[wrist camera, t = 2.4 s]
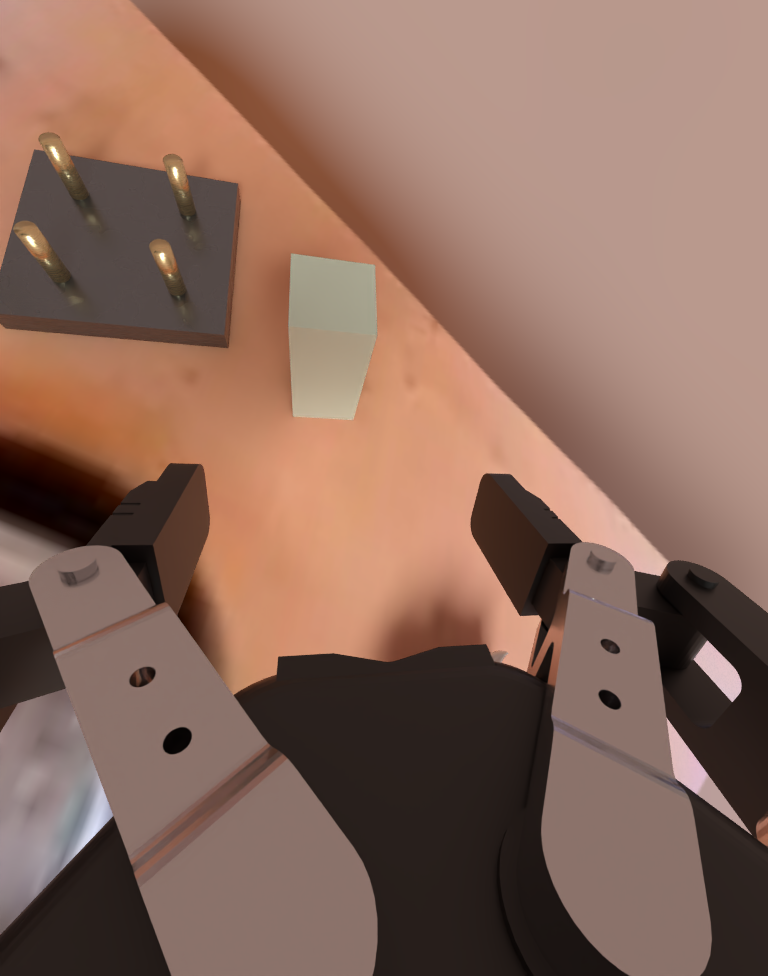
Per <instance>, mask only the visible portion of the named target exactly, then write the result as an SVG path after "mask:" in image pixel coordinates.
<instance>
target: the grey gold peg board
mask: <svg viewBox="0 0 768 976" xmlns="http://www.w3.org/2000/svg"><path fill="white" fill-rule="evenodd" d="M39 142H40V144H41V145H42V147H43V149H44V151H40V150H34V152H33V156H32V159H31V163H30V166H29V170H28V174H27V177H26V181H25V184H24V188H23V191H22V195H21V199H20V202H19V206H18V209H17V213H16V216H15V220H14V224H13V227H12V231H11V234H10V238H9V241H8V245H7V248H6V252H5V256H4V259H3V263H2V266H1V270H0V324H1V325H3V326H4V327H5V328H9V329H20V330H31V331H43V332H54V333H65V334H77V335H88V336H99V337H110V338H122V339H133V340H144V341H156V342H167V343H178V344H190V345H201V346H212V347H224V348H228V344H229V332H230V320H231V309H232V297H233V285H234V274H235V262H236V250H237V238H238V227H239V215H240V203H241V201H240V194H239V188H238V184H237V183H231V182H225V181H219V180H213V179H207V178H201V177H195V176H189V175H186V172H185V168H184V165H183V161H182V159H181V158H180V157H179V156H178V155H175V154H168V155H166V156H165V157H164V158H163V162H164V165H165V168H166V171H167V172H165V171H159V170H153V169H147V168H141V167H135V166H129V165H123V164H118V163H112V162H106V161H100V160H94V159H88V158H82V157H76V156H70V155H69V154H68V152H67V150H66V149H65V147H64V145H63V143H62V141H61V139H60V137H59V136H58V135H56V134H54V133H49V132H47V133H43V134H41V135H40V136H39Z"/></svg>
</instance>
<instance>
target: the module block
mask: <svg viewBox="0 0 768 976" xmlns="http://www.w3.org/2000/svg"><path fill="white" fill-rule="evenodd" d="M288 332H289V351H290V371H291V390H292V410H293V417H310V418H327V419H344V420H353V419H354V415H355V412H356V408H357V405H358V401H359V398H360V394H361V391H362V387H363V384H364V380H365V377H366V373H367V370H368V366H369V363H370V359H371V356H372V352H373V349H374V345H375V342H376V338H377V310H376V278H375V265H372V264H365V263H357V262H350V261H343V260H336V259H328V258H321V257H314V256H307V255H299V254H292V253H291V268H290V294H289V319H288Z"/></svg>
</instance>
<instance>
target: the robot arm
mask: <svg viewBox="0 0 768 976" xmlns="http://www.w3.org/2000/svg"><path fill="white" fill-rule="evenodd" d="M209 525H210V515H209V506H208V498H207V489H206V481H205V473H204V469H203V466H202V465H201V464H176V463H170V464H169V465H168V466H167V468H166V469H165V471H164V472H163V473H162V475H161V476H160V478H159V479H158V480H157V481H147V482H145V483H143V484H141V485H140V486H138V487H136V488H135V489H133V490H131V491H130V492H129V493H128V494H127V496H126V497H125V498H124V499H123V501H122V502H121V505H119V506H118V507H117V508H116V509H115V511H114V512H113V515H111V516H110V517H109V518H108V519H107V521H106V522H105V523H104V524H103V526H102V527H101V528H100V529H99V530H98V532H97V533H96V534H95V535H94V537H93V538H92V539H91V540H90V542H89V543H88V544H87V545H86V546H84V547H79V548H74V549H71V550H67V551H65V552H62V553H59V554H57V555H55V556H53V557H51V558H49V559H47V560H46V561H44V562H43V563H41V564H40V565H39V566H38V567H37V568H36V569H35V570H34V571H33V572H32V574H31V576H30V578H29V581H26V582H22V583H17V584H12V585H7V586H2V587H0V732H1V730H2V729H3V727H4V725H5V724H6V722H7V720H8V719H9V717H10V715H11V714H12V712H13V710H14V709H15V707H16V705H17V704H18V703H20V702H23V701H27V700H30V699H33V698H36V697H40V696H43V695H46V694H49V693H52V692H56V691H59V690H62V689H65V688H66V689H67V692H68V695H69V697H70V700H71V703H72V706H73V708H74V711H75V714H76V716H77V719H78V722H79V724H80V727H81V730H82V732H83V735H84V738H85V740H86V743H87V746H88V748H89V751H90V754H91V757H92V759H93V762H94V765H95V767H96V770H97V773H98V775H99V778H100V781H101V783H102V786H103V789H104V791H105V794H106V797H107V799H108V802H109V805H110V808H111V810H112V813H113V817H112V818H111V819H110V820H109V821H108V822H107V823H106V824H105V825H104V826H103V828H102V829H101V830H100V831H99V832H98V833H97V834H96V835H95V836H94V837H93V838H92V839H91V840H90V841H89V842H88V843H87V844H86V845H85V846H84V848H83V849H82V850H81V851H80V852H79V853H78V854H77V855H76V856H75V857H74V858H73V859H72V860H71V861H70V862H69V863H68V864H67V865H66V866H65V868H64V869H63V870H62V871H61V872H60V873H59V874H58V875H57V876H56V877H55V878H54V879H53V880H52V881H51V882H50V883H49V884H48V885H47V886H46V888H45V889H44V890H43V891H42V892H41V893H40V894H39V895H38V896H37V897H36V898H35V899H34V900H33V901H32V902H31V903H30V904H29V905H28V906H27V907H26V909H25V910H24V911H23V912H22V913H21V914H20V915H19V916H18V917H17V918H16V919H15V920H14V921H13V922H12V923H11V924H10V925H9V926H8V927H7V929H6V930H5V931H4V932H3V933H2V934H1V935H0V976H768V613H767V612H766V611H764V610H763V609H762V608H761V607H760V606H758V605H757V604H756V603H754V602H753V601H752V600H751V599H749V597H747V596H746V595H745V594H744V593H742V592H741V591H740V590H739V589H737V588H736V587H735V586H733V585H732V584H731V583H730V582H728V581H727V580H726V579H725V578H723V577H722V576H720V575H719V574H717V573H715V572H713V571H712V570H710V569H707V568H705V567H703V566H700V565H698V564H695V563H691V562H686V561H679V560H678V561H671V562H669V563H668V564H667V566H666V568H665V569H664V571H663V573H662V574H661V576H656V575H651V574H646V573H641V572H637V571H634V568H633V566H632V565H631V563H630V562H629V561H628V560H627V559H626V558H624V557H623V556H622V555H620V554H619V553H617V552H616V551H614V550H612V549H610V548H607V547H605V546H602V545H599V544H595V543H588V542H582V541H581V540H580V539H579V538H578V537H577V536H576V535H575V534H574V533H573V532H572V531H571V530H570V529H569V528H568V527H567V526H566V525H565V524H564V523H563V522H562V521H561V520H560V519H558V516H557V515H556V514H555V513H554V512H553V511H550V508H549V507H548V506H547V505H546V504H545V503H544V502H543V501H542V500H541V499H540V498H538V497H536V496H535V495H533V494H531V493H530V492H528V491H526V490H525V489H524V488H523V487H522V486H521V485H520V484H519V483H518V481H517V480H516V479H515V478H514V477H513V476H512V475H510V474H488V473H487V474H484V475H483V477H482V479H481V481H480V485H479V489H478V493H477V496H476V500H475V504H474V508H473V512H472V516H471V532H472V535H473V537H474V539H475V541H476V542H477V544H478V546H479V547H480V549H481V551H482V552H483V554H484V556H485V558H486V559H487V561H488V563H489V564H490V566H491V568H492V569H493V571H494V573H495V574H496V576H497V578H498V580H499V581H500V583H501V585H502V586H503V588H504V590H505V591H506V593H507V595H508V596H509V598H510V600H511V602H512V603H513V605H514V607H515V608H516V610H517V612H518V613H519V615H520V616H530V615H539V616H540V618H541V621H540V623H539V625H538V628H537V631H536V635H535V639H534V644H533V648H532V652H531V656H530V661H529V665H528V669H527V672H525V671H523V670H521V669H518V668H516V667H513V666H511V665H507V664H503V663H500V662H495V661H494V660H493V658H492V656H491V654H490V652H489V649H488V647H487V645H486V644H483V645H467V646H450V647H438V648H435V649H432V650H429V651H425V652H422V653H419V654H416V655H413V656H410V657H407V658H404V659H400V660H397V661H394V662H382V661H376V660H370V659H364V658H358V657H352V656H346V655H340V654H334V653H333V654H316V655H299V656H282V657H278V667H277V675H274V676H271V677H268V678H265V679H263V680H261V681H258V682H256V683H254V684H252V685H250V686H248V687H246V688H244V689H243V690H241V691H239V692H238V693H236V694H235V695H233V694H232V693H231V691H230V690H229V689H228V687H227V686H226V684H225V683H224V682H223V680H222V679H221V677H220V676H219V675H218V673H217V672H216V670H215V669H214V668H213V666H212V665H211V663H210V662H209V661H208V659H207V658H206V656H205V655H204V653H203V652H202V651H201V649H200V648H199V646H198V645H197V644H196V642H195V641H194V639H193V638H192V637H191V635H190V634H189V632H188V631H187V630H186V628H185V627H184V625H183V624H182V623H181V621H180V620H179V618H178V617H177V614H178V612H179V609H180V606H181V604H182V601H183V599H184V596H185V593H186V591H187V588H188V586H189V583H190V581H191V578H192V575H193V573H194V570H195V568H196V565H197V562H198V560H199V557H200V555H201V552H202V549H203V547H204V544H205V542H206V539H207V536H208V532H209ZM707 640H708V641H709V642H710V643H711V644H712V645H713V646H714V647H715V648H716V649H717V650H718V651H719V652H720V653H721V654H722V655H723V656H724V657H725V658H726V659H727V660H728V661H729V662H730V663H731V665H732V666H733V667H734V668H735V669H736V671H737V672H738V674H739V676H740V679H741V683H742V689H741V692H740V694H739V695H738V697H737V698H736V699H735V700H734V701H733V702H731V701H730V700H729V699H728V697H727V696H726V695H725V694H724V693H723V692H722V691H721V690H720V689H719V687H718V686H717V685H716V684H715V683H714V682H713V681H712V680H711V679H710V677H709V676H708V675H707V674H706V673H705V672H704V671H703V670H702V669H701V668H700V666H699V665H698V664H697V663H696V662H695V661H694V660H693V659H694V658H695V656H696V655H697V654H698V652H699V651H700V649H701V648H702V647H703V645H704V644H705V643H706V641H707ZM666 717H667V719H668V720H669V721H670V723H671V724H672V725H673V727H674V728H675V730H676V731H677V732H678V734H679V735H680V736H681V738H682V739H683V741H684V742H685V743H686V745H687V746H688V747H689V749H690V750H691V752H692V753H693V754H694V756H695V757H696V758H697V760H698V761H699V763H700V764H701V765H702V767H703V768H704V769H705V771H706V772H707V774H708V775H709V776H710V778H711V779H712V780H713V782H714V783H715V785H716V786H717V787H718V789H719V790H720V791H721V793H722V794H723V796H724V797H725V798H726V800H727V801H728V802H729V804H730V805H731V807H732V808H733V809H734V811H735V812H736V813H737V815H738V816H739V818H740V819H741V820H742V821H743V823H744V824H745V826H746V827H747V829H748V830H749V831H750V833H751V834H752V835H753V836H752V835H751V834H749V833H748V832H747V831H745V830H744V829H743V828H741V827H740V826H739V825H737V824H736V823H734V822H733V821H732V820H730V819H729V818H728V817H726V816H725V815H724V814H722V813H721V812H720V811H718V810H717V809H716V808H714V807H713V806H712V805H710V804H709V803H707V802H706V801H705V800H703V799H702V798H701V797H699V796H698V795H697V794H695V793H694V792H693V791H691V790H690V789H689V788H687V787H686V786H685V785H683V784H682V783H681V782H679V781H678V780H676V779H675V776H674V772H673V766H672V758H671V750H670V742H669V734H668V727H667V719H666Z"/></svg>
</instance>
